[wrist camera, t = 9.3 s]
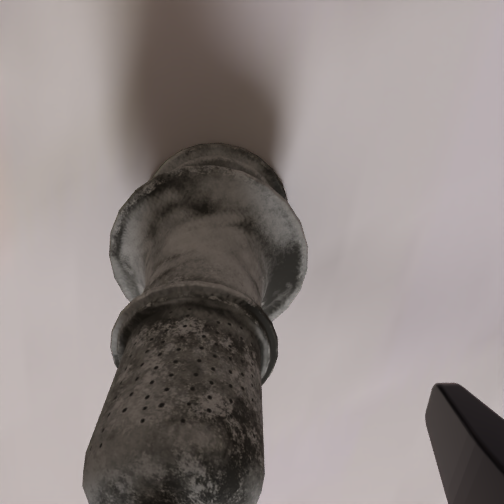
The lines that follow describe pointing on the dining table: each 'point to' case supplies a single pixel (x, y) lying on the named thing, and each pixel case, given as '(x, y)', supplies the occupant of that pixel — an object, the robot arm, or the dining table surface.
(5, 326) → the dining table surface
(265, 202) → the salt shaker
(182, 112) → the dining table surface
